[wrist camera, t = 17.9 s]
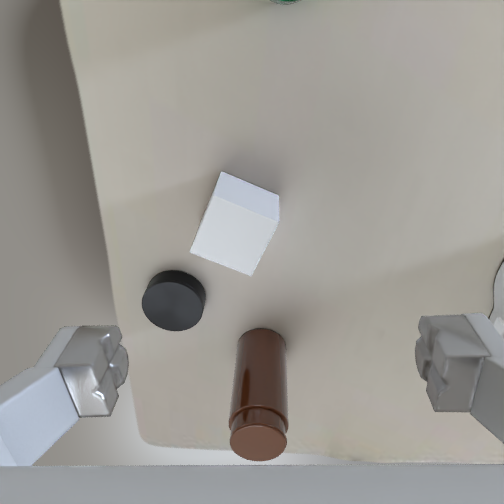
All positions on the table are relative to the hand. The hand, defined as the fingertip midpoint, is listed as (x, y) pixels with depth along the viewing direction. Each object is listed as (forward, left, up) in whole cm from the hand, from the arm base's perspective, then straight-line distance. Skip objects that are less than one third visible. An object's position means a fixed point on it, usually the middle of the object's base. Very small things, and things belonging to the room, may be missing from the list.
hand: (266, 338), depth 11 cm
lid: (-4, +22, -27) cm, 35 cm away
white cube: (-3, +9, -29) cm, 31 cm away
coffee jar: (-16, +22, -29) cm, 40 cm away
